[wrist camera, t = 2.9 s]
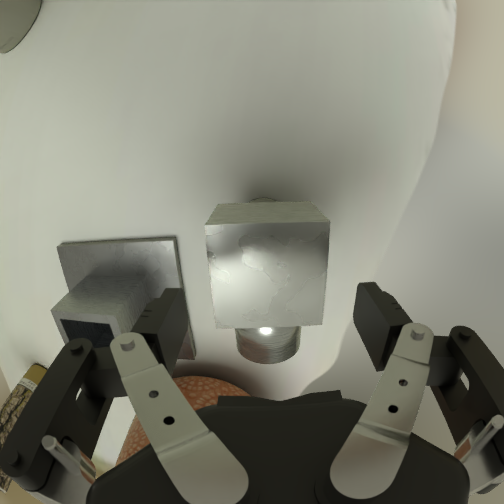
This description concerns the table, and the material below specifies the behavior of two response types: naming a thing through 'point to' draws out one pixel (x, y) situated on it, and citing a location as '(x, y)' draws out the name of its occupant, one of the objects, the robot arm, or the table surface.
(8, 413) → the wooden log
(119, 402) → the table surface
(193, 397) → the planter
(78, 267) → the duct socket
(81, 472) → the robot arm
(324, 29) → the table surface
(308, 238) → the silver block with cylinder
